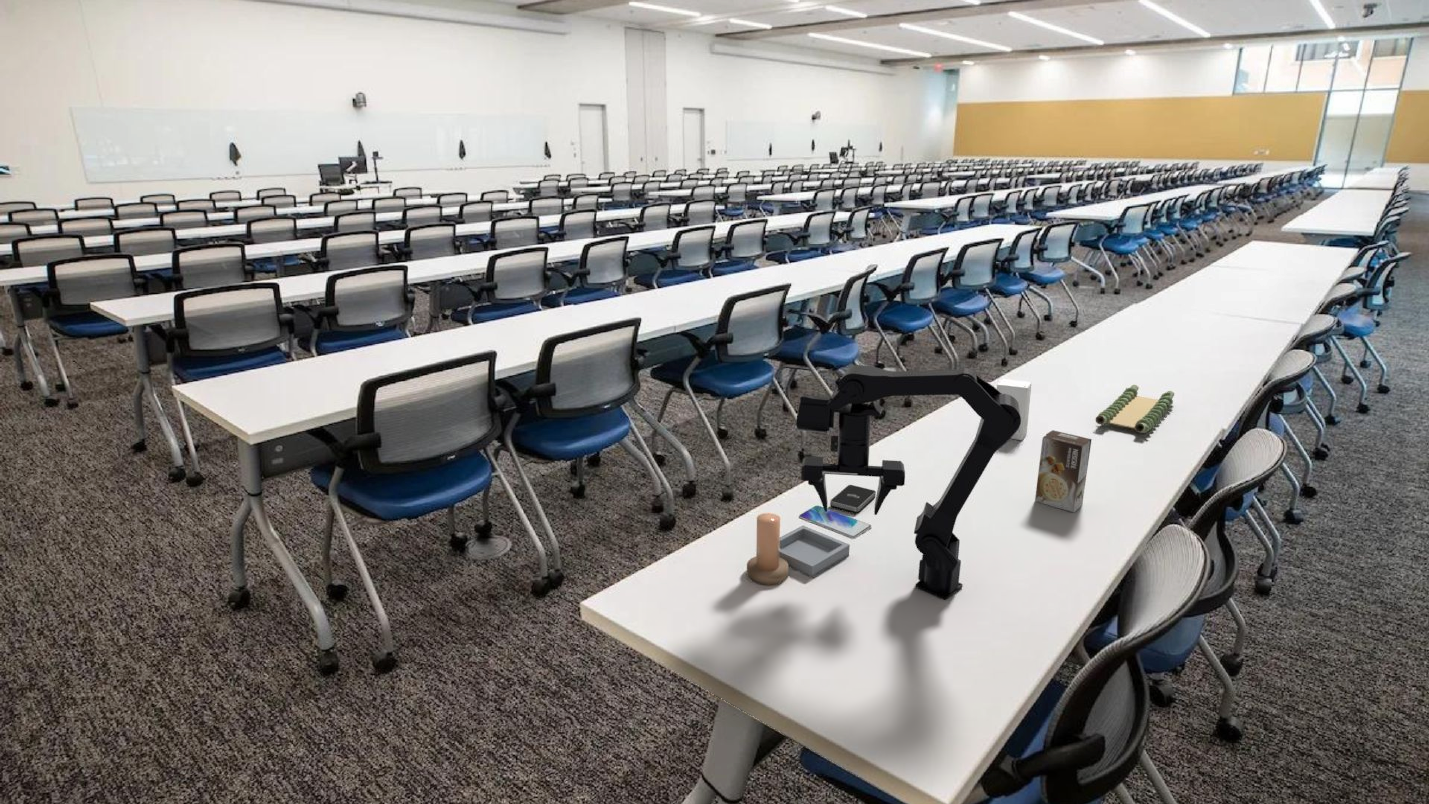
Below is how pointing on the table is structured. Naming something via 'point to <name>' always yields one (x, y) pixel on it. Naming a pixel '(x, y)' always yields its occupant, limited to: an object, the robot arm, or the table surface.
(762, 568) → the peach stamp handle
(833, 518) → the smartphone
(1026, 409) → the skincare box
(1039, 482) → the coffee box
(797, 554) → the tray
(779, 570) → the brown stone
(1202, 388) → the table surface
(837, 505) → the external hard drive
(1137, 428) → the stretcher
